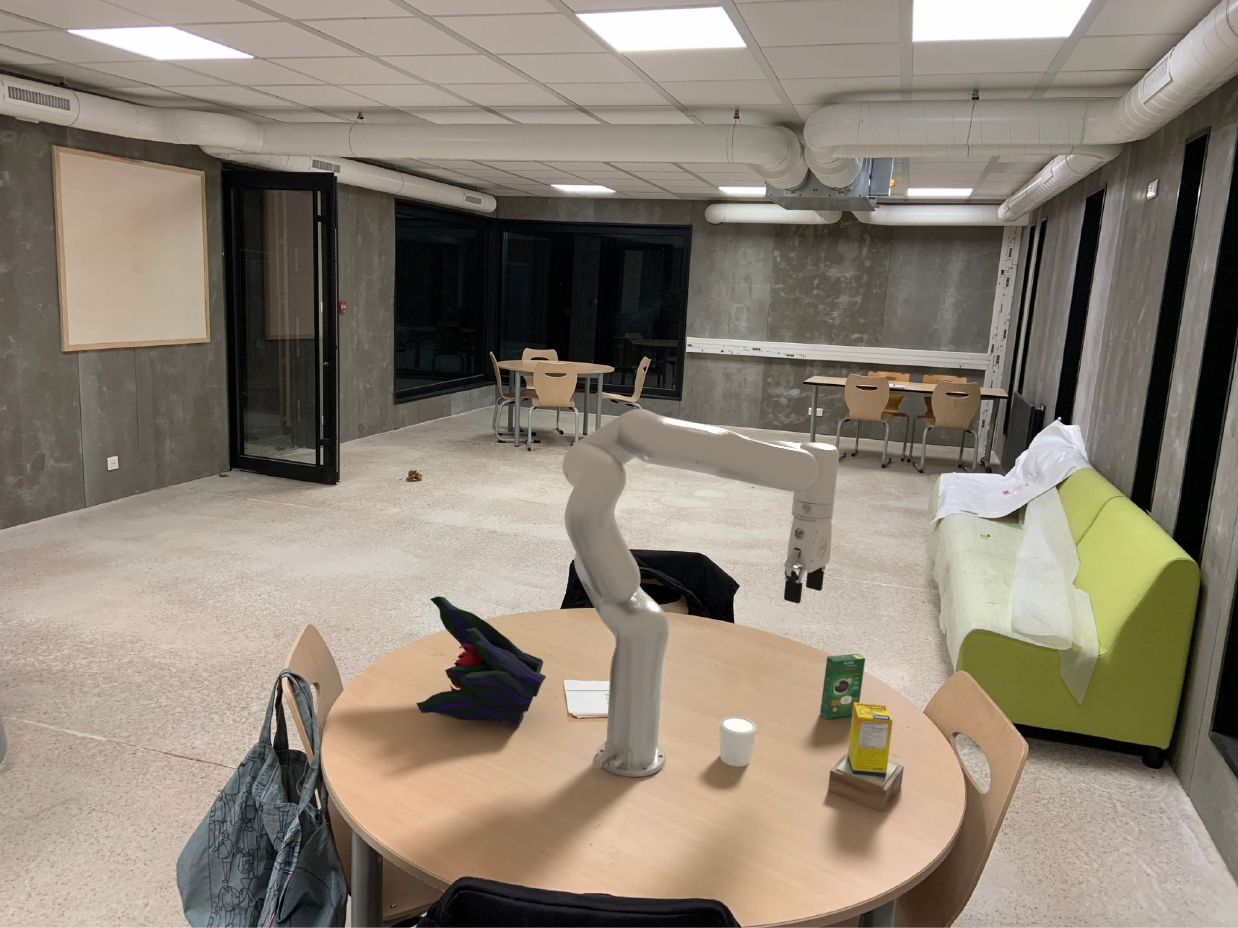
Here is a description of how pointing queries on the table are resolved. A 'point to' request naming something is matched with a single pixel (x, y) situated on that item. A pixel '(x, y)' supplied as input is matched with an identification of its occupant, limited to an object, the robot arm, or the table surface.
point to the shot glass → (736, 740)
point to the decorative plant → (484, 672)
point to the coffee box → (842, 685)
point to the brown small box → (865, 784)
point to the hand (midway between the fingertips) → (803, 595)
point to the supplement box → (869, 739)
